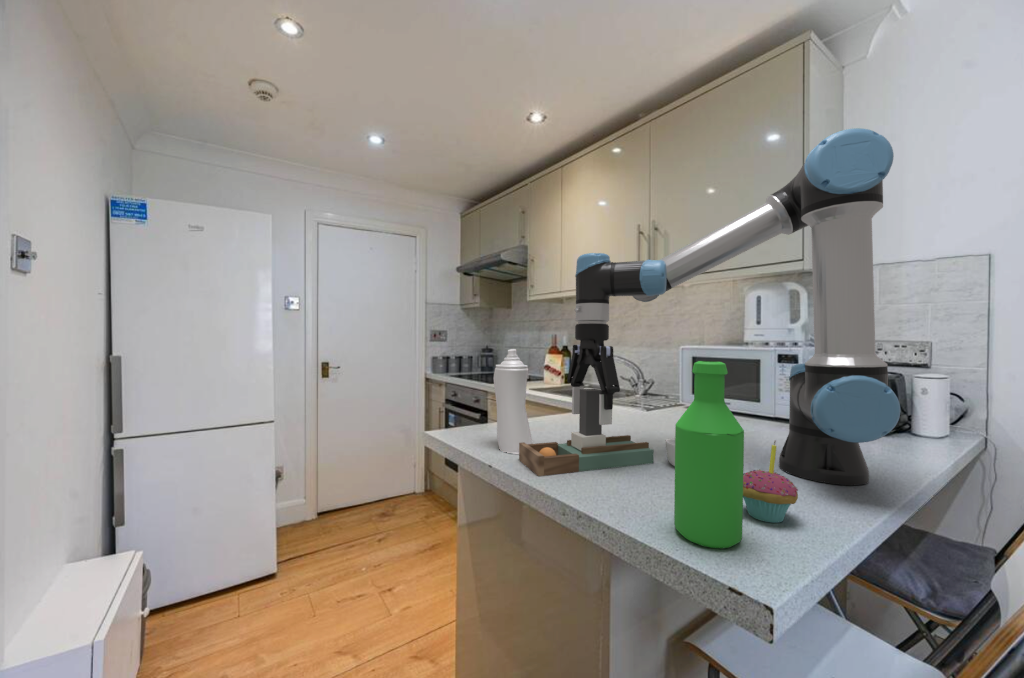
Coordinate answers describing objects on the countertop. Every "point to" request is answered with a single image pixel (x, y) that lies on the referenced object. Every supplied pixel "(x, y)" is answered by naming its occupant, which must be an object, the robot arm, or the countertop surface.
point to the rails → (613, 447)
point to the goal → (547, 459)
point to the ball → (547, 452)
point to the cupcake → (768, 493)
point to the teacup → (670, 450)
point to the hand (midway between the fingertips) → (590, 418)
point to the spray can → (511, 403)
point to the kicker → (588, 421)
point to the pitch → (609, 457)
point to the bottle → (709, 464)
